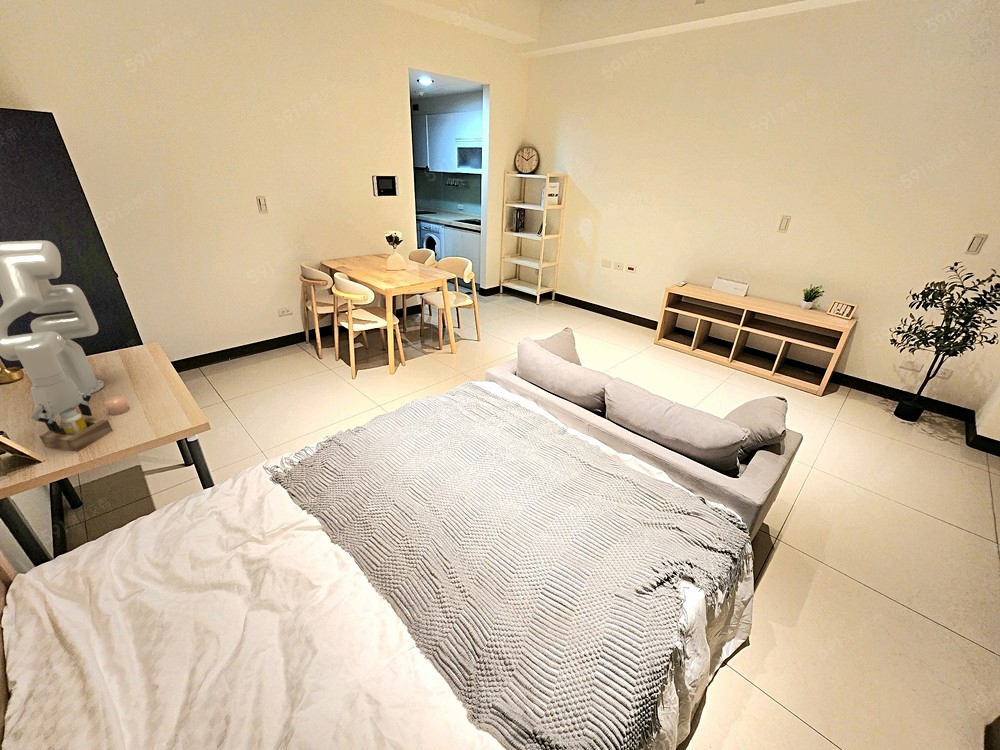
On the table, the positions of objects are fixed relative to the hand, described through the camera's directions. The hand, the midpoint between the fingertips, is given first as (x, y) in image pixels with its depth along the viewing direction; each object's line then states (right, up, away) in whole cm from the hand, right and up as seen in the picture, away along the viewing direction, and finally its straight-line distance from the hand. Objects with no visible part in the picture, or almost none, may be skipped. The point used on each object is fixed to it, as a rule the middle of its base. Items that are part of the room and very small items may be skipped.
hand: (72, 423), depth 138 cm
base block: (-1, -6, +3) cm, 7 cm away
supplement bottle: (0, -4, +3) cm, 5 cm away
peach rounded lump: (-1, +2, +18) cm, 19 cm away
